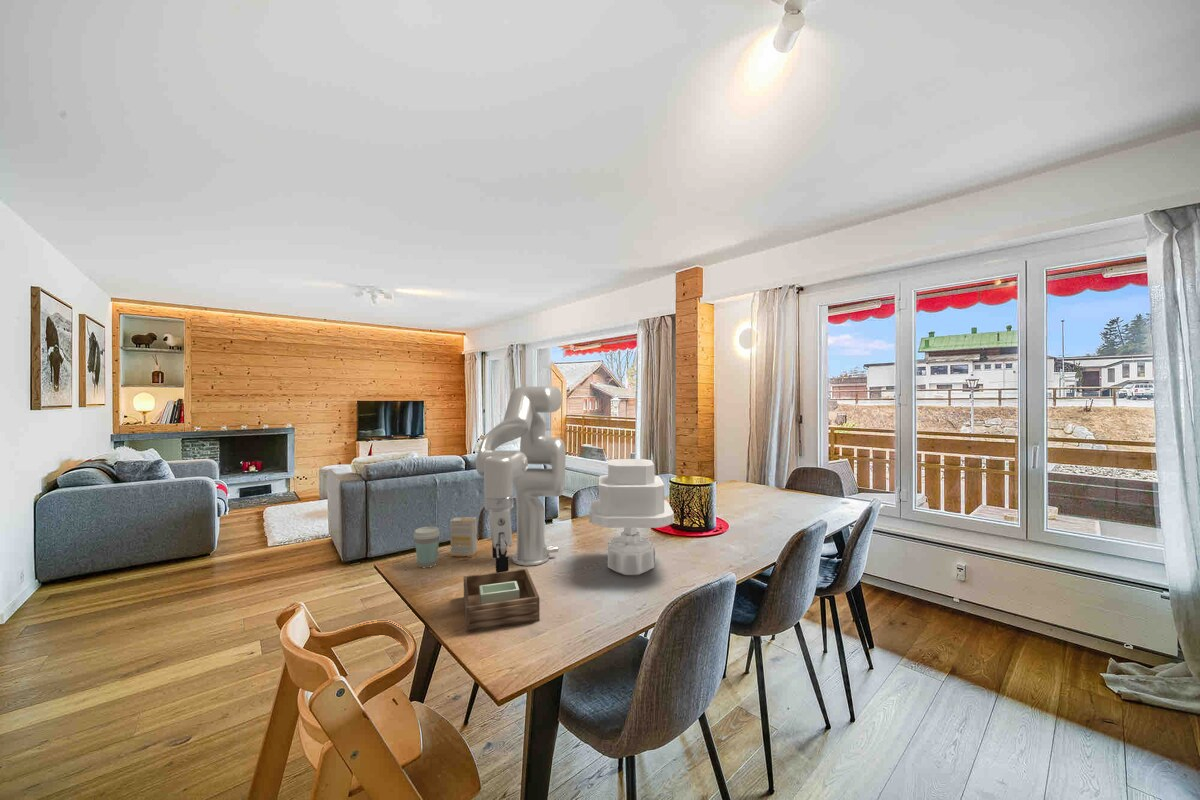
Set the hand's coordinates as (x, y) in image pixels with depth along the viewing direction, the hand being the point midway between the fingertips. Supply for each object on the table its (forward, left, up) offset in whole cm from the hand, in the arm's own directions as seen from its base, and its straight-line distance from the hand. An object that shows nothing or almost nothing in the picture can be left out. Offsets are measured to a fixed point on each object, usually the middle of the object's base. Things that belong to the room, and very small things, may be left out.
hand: (500, 564), depth 124 cm
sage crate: (0, +1, -11) cm, 11 cm away
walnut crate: (0, +1, -12) cm, 12 cm away
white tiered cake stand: (-44, -14, -12) cm, 47 cm away
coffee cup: (+20, -38, -12) cm, 45 cm away
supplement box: (+8, -44, -12) cm, 47 cm away
